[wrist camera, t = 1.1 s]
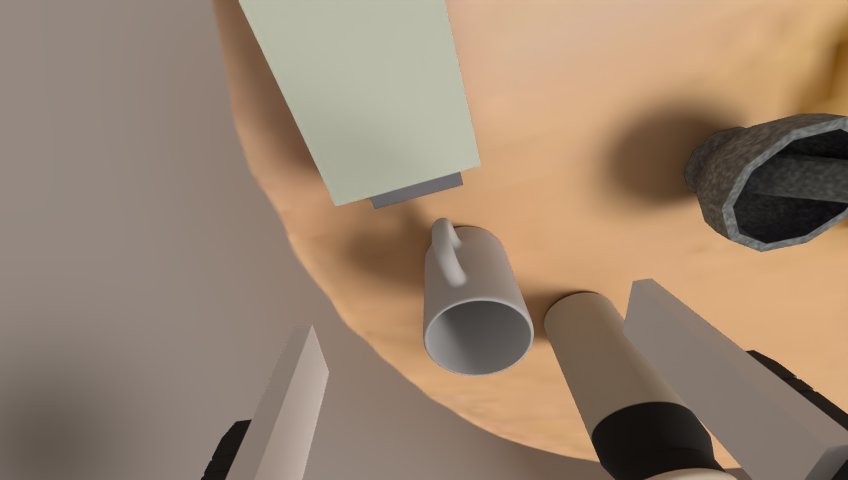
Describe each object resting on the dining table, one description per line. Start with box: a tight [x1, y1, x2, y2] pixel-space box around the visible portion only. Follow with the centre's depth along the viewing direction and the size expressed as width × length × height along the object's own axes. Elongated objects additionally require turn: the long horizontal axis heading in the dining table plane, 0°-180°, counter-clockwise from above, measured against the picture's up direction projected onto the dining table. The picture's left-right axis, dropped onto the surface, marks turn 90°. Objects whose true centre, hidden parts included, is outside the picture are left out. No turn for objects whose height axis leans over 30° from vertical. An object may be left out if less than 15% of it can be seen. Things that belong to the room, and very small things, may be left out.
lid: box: [238, 0, 481, 207], centre depth 22 cm, size 11×14×4 cm
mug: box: [423, 218, 534, 376], centre depth 28 cm, size 12×8×11 cm
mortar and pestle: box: [684, 113, 848, 252], centre depth 23 cm, size 11×9×12 cm
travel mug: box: [544, 293, 737, 480], centre depth 30 cm, size 8×8×18 cm
